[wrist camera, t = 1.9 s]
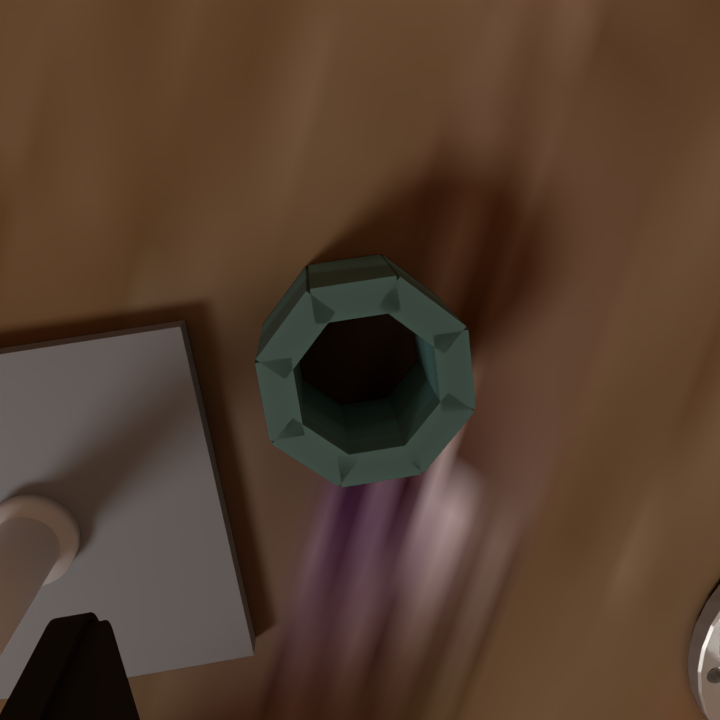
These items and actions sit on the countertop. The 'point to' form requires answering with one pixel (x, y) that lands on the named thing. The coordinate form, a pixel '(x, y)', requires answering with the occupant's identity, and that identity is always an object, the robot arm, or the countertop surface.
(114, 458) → the post fixture
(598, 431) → the countertop surface
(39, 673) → the robot arm
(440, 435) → the ring
